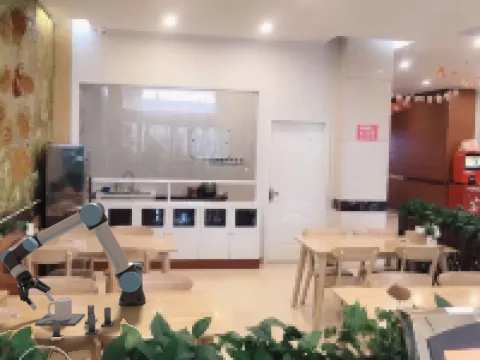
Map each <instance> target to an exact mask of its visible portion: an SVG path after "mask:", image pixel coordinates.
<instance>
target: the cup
mask: <svg viewBox="0 0 480 360" xmlns="http://www.w3.org/2000/svg"><path fill="white" fill-rule="evenodd" d="M54 299H55V301H54V302H50V301H49V303H48V305H47V314H50V315H52V316H55V320H60V321H66V320H70V319H71V318H72V314H73V310H72V309H73V307H72V306H73V305H72V304H73V300H72V297H68V296H63V297H56V298H54ZM51 305H54V312H51Z"/></svg>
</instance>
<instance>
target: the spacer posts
mask: <svg viewBox="0 0 480 360" xmlns="http://www.w3.org/2000/svg"><path fill="white" fill-rule="evenodd" d="M111 309H112V308H111V307H109V306H107V307H104V309H103V311H104V312H103V314H104V315H103V317H104V318H103V320H104V321H103V322H102V323H101V328H102V327H105V328H106V327H107V328H108V327H112V326H113V325H114V324H115V321H113V320H112V310H111ZM97 322H98V318H96V314H95V305H94V304H88V305H87V318H86V319H85V321H84V324H85V325H88V327H87V328H88V329H87V330H86V331H85V332H84V335H97V334H98V332H99V328H96V323H97ZM62 336H64V337H65V335H63V334H61V325H60V320H54V321H53V325H52V336H51V337H62Z"/></svg>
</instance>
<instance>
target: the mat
mask: <svg viewBox="0 0 480 360" xmlns="http://www.w3.org/2000/svg"><path fill="white" fill-rule="evenodd" d="M85 316H86V313H72V318H71V319H70V320H66V321H60V326H76V325H77V324H78V323H80V321H81V320H82V319H83V318H84V317H85ZM54 320H55V316H52V315H50V314H49V313H45V315H43V317H41V318H40V319H39V320H37V321H36V322H35V323H34V325H35V326H53V321H54Z"/></svg>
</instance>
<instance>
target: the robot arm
mask: <svg viewBox="0 0 480 360" xmlns="http://www.w3.org/2000/svg"><path fill="white" fill-rule="evenodd" d="M105 212H106V210H105V206H104V205H103V204H102V203H101V202H99V201H96V200H95V201H90V202H87V203H85V204H84V205H83V206H82V207H81V208H79V209H78V210H77V212H76V213H74V214H72V215H70V216H68V217H66V218H65V219H63V220H61V221H58V222H57V223H55V224H53V225H51V226H49V227H48V228H46V229H44V230H42V231H40V232H37V233H36V234H34V235H32V236H27V237H26V238H25V239H23V240H22V241H21V243H19V244H18V245H17V246H16V247H15V248H8V249H5V250H3V251H2V252H1V253H0V260H1V261H2V264H3V265H4V266H5V267H6V269H7V270H8V271H9V272H10V274H11V275H12V276H13V278H14V279H15V280H16V283H17V284H16V288H17V290H18V294H19V300H20V301H21V302H24V303H25V302H26V304H27V305H28V306H29V307H30V308H31V309H32V311H33V312H34V311H35V310H36V309H37V308H38V306H37V304H36V302H34V301H33V299H32V298H31V296H30V295H29V293H30V292H29V291H30V289H36V290H38V291H40V292H42V293H44V295H45V297H46V298H47V299H48V301H49V303H50V302H55V299H56V298H55V297H54V296H53V294H52V292H51V291H50V290H52V287H51V286H49V285H48V284H46V283H45V282H44V281H42V280H40V279H39V277H37V276H36V277H35V278H33V277H32V276H33V275H32V274H31V272H30V271H29V270H28V267H26V266H25V264H24V263H23V260H25V259H26V258H27V257H29V256H30V255H31V254H32V253H33V252H34V251H36V250H38V249H40V248H42V247H44V246H45V245H47V244H49V243H51V242H54V241H55V240H57V239H59V238H61V237H63V236H64V235H66V234H68V233H70V232H73V230H76V229H78V228H80V227H82V226H83V225H85V226H86V227H87V229H88V231H89V232H92V233H93V234H94V237H96V239H97V241H98V242H99V244H100V247H101V248H102V250H103V251H104V253H105V255H106V257H107V259H109V262H110V263H111V265H112V266H113V268H114V270H115V271H114V276H115V278H116V279H117V281H118V285H119V287H120V289H121V293H120V294H119V298H118V303H119V304H120V305H121V306H126V307H127V306H128V307H129V306H131V307H132V306H140V305H144V304H145V303H146V295H145V292H144V289H143V279H144V278H143V277H144V276H143V269H144V267H143V263H141V262H132V261H129V259H128V257H127V255H126V253H125V252H124V250H123V249H122V247H121V244H120V243H119V241H118V240H117V238H116V236H115V235H114V233H113V231H112V229H111V228H110V226H109V219H108V217H107V215H106V213H105ZM29 296H30V297H29Z"/></svg>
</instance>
